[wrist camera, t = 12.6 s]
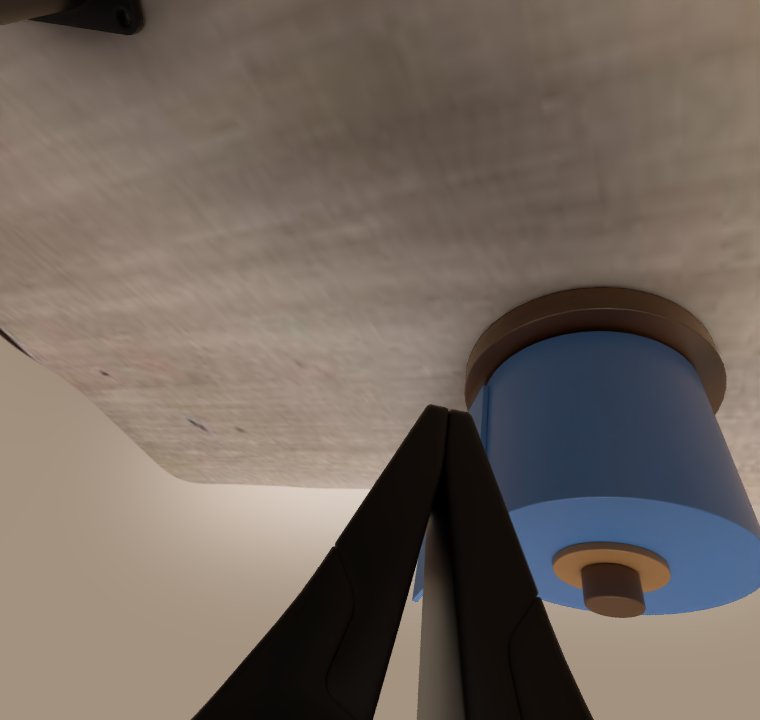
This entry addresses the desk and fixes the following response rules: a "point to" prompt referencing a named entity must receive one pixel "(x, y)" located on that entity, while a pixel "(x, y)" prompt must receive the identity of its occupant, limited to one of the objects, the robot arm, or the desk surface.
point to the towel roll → (616, 478)
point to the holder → (597, 314)
